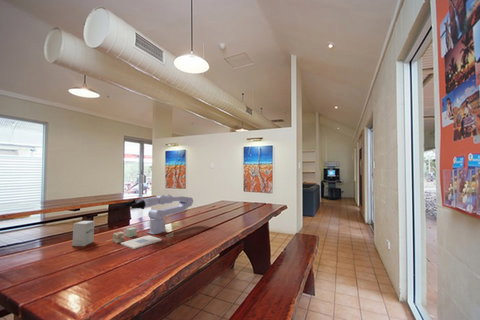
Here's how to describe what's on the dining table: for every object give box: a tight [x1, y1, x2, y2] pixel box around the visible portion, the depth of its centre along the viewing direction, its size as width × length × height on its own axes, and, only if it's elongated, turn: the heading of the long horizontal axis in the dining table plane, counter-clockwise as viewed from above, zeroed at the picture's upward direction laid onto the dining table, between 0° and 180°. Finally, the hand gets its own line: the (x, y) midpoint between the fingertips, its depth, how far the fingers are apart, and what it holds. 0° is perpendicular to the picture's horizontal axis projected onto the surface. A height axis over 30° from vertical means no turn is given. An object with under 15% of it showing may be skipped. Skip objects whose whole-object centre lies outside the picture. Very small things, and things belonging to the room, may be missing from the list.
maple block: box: [112, 231, 126, 244], centre depth 127 cm, size 4×4×5 cm
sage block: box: [125, 226, 138, 238], centre depth 138 cm, size 4×4×5 cm
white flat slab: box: [119, 235, 163, 250], centre depth 126 cm, size 18×14×1 cm
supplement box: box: [71, 220, 95, 247], centre depth 122 cm, size 7×7×13 cm
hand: (128, 205), depth 131 cm, fingers open, 7 cm apart
